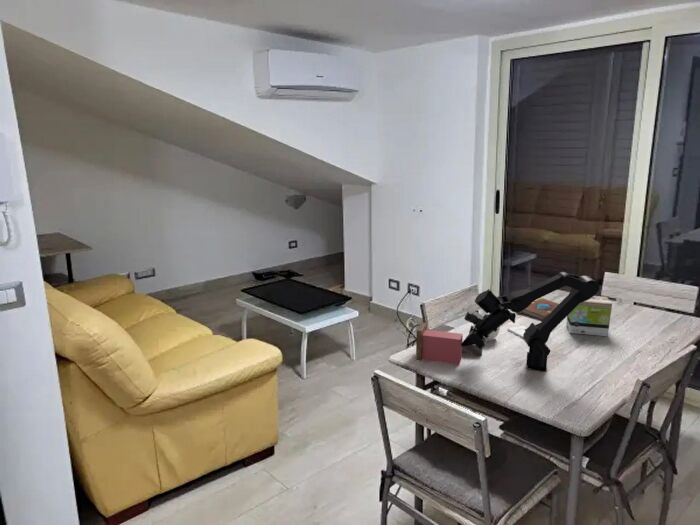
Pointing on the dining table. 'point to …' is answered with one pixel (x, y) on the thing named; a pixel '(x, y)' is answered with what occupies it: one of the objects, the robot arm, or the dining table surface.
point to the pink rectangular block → (442, 347)
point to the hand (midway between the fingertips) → (461, 345)
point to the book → (540, 308)
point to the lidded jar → (492, 335)
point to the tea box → (591, 317)
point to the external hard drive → (518, 330)
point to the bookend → (420, 331)
